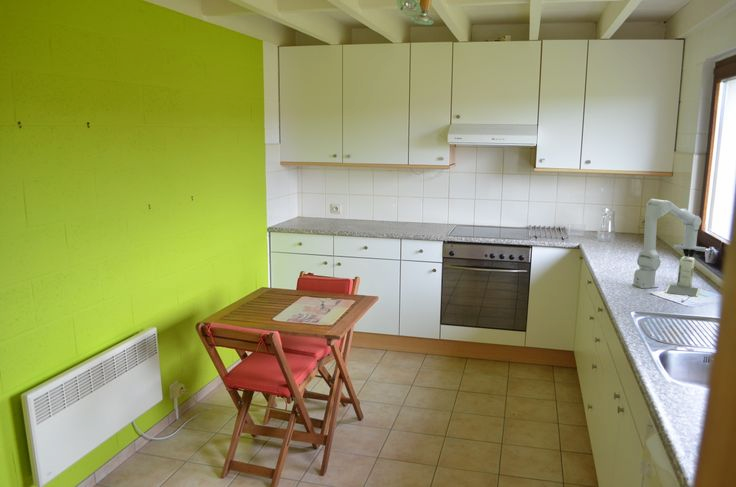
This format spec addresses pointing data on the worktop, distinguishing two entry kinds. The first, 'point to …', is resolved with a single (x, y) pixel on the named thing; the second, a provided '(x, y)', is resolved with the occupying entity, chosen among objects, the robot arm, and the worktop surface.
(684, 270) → the syrup box
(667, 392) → the worktop surface
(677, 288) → the mat
